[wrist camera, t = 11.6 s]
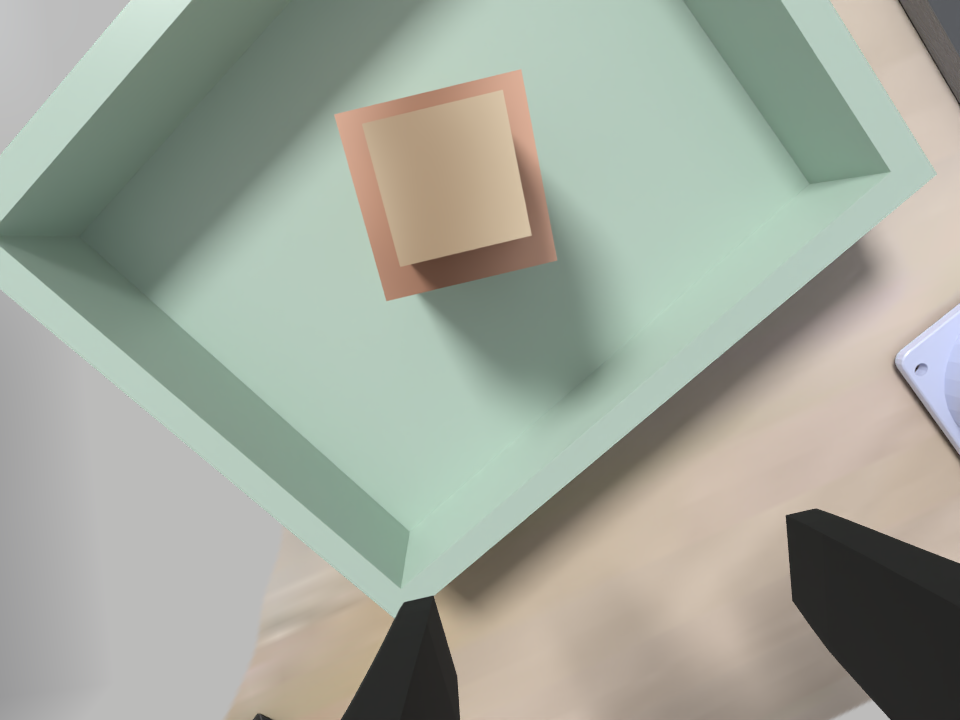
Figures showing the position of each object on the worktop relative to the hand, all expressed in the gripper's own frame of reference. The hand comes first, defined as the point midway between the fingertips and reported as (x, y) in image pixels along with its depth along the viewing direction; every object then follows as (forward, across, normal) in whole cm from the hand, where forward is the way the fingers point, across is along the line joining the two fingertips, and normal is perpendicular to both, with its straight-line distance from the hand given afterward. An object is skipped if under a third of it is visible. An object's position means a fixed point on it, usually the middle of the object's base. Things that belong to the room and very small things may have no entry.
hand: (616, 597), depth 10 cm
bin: (+10, +1, -8) cm, 13 cm away
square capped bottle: (+10, +1, -9) cm, 13 cm away
